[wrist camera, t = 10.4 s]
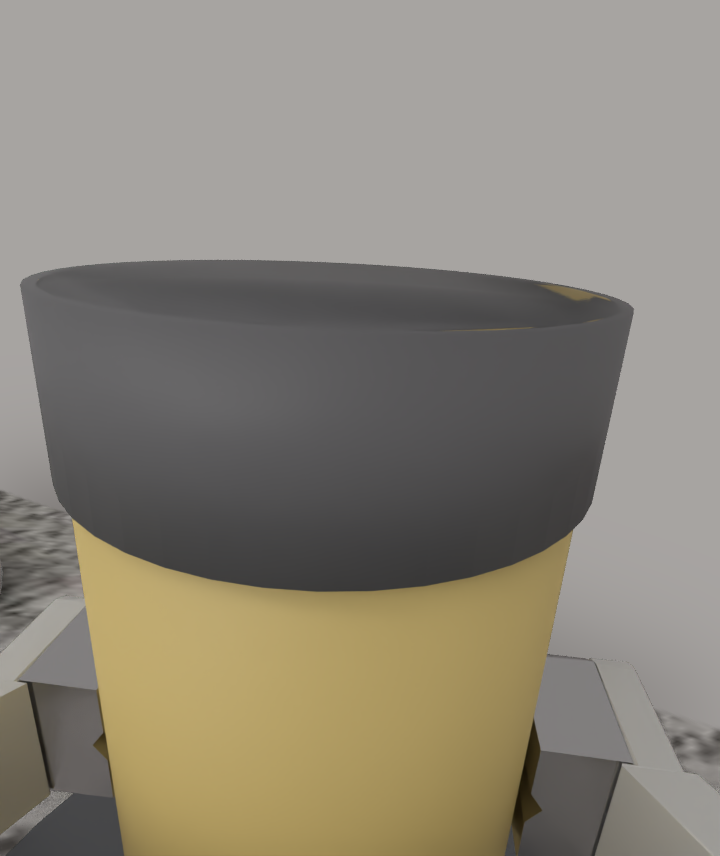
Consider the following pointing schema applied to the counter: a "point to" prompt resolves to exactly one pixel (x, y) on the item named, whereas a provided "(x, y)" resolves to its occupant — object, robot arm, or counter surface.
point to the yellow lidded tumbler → (320, 537)
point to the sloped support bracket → (1, 576)
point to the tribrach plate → (91, 830)
